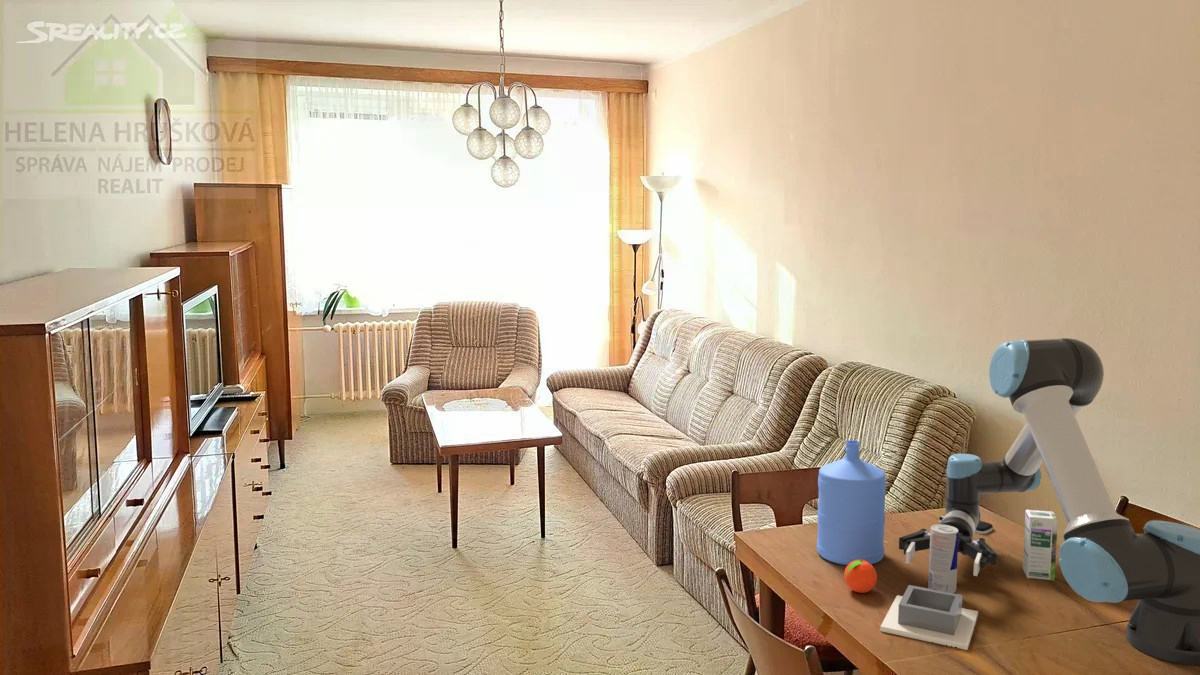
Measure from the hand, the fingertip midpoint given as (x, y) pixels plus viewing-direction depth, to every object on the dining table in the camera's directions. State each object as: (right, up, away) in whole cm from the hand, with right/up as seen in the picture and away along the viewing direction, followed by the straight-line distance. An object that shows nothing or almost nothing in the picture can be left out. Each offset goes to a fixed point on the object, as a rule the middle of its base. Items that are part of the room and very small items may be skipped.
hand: (940, 563), depth 183 cm
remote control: (+24, -2, +44) cm, 50 cm away
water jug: (-12, -5, +26) cm, 29 cm away
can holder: (-6, -9, -10) cm, 15 cm away
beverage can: (+1, -8, +3) cm, 8 cm away
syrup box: (+27, -6, +13) cm, 30 cm away
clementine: (-16, -8, +5) cm, 19 cm away
